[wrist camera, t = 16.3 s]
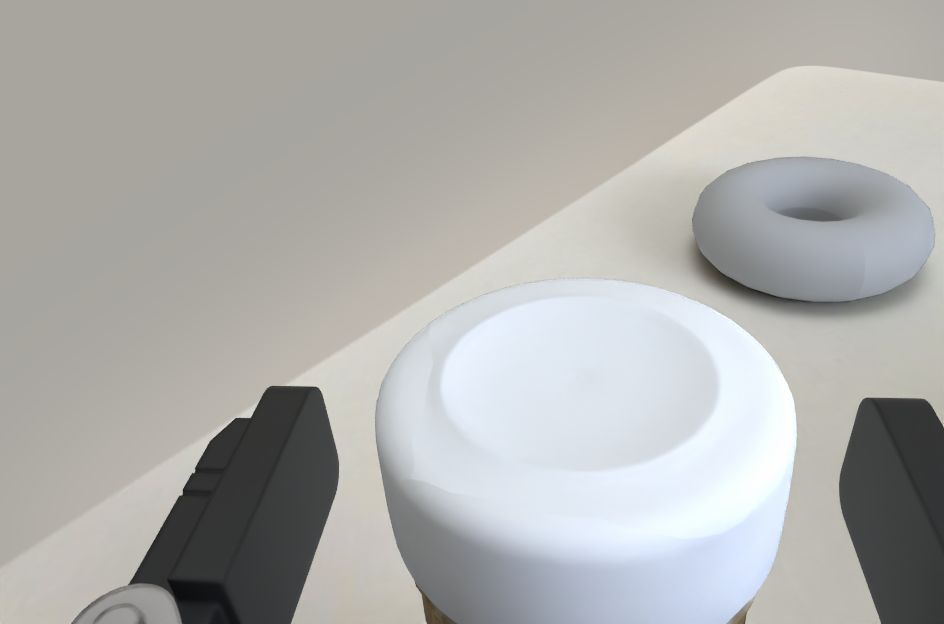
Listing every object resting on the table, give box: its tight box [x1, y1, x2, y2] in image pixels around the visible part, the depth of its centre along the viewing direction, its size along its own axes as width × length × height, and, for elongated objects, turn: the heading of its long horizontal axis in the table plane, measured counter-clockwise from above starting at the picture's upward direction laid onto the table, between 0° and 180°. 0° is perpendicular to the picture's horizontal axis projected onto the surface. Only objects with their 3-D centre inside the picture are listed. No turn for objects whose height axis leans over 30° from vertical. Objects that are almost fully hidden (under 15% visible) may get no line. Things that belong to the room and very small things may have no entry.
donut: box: [692, 157, 935, 302], centre depth 34 cm, size 10×4×10 cm
